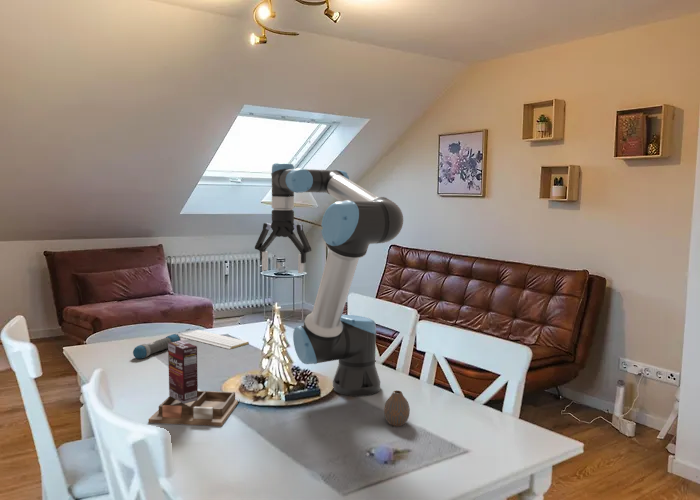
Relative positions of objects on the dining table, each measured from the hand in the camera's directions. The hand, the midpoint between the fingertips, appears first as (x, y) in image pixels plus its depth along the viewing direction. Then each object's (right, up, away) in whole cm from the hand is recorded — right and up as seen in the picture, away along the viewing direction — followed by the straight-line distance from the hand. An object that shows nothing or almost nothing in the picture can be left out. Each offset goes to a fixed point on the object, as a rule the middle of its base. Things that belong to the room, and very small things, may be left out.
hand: (282, 271), depth 198 cm
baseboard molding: (-34, -31, +41) cm, 62 cm away
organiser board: (-20, -38, -35) cm, 56 cm away
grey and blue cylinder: (-51, -32, +23) cm, 64 cm away
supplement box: (-25, -35, -33) cm, 54 cm away
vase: (+36, -40, -40) cm, 67 cm away
